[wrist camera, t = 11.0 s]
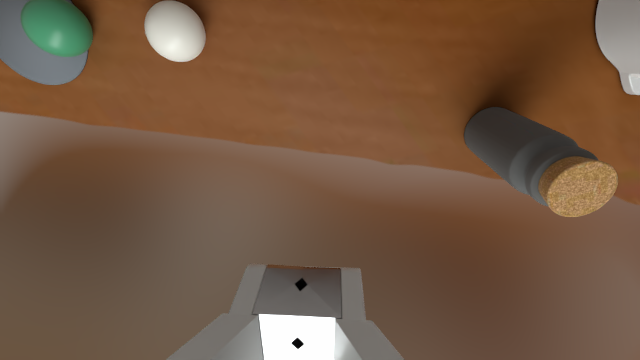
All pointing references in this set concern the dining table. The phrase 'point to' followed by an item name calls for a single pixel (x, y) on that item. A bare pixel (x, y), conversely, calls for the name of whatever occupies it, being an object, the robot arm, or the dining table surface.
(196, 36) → the cue ball
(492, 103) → the dining table surface
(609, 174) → the bottle
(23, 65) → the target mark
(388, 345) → the robot arm
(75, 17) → the green ball
